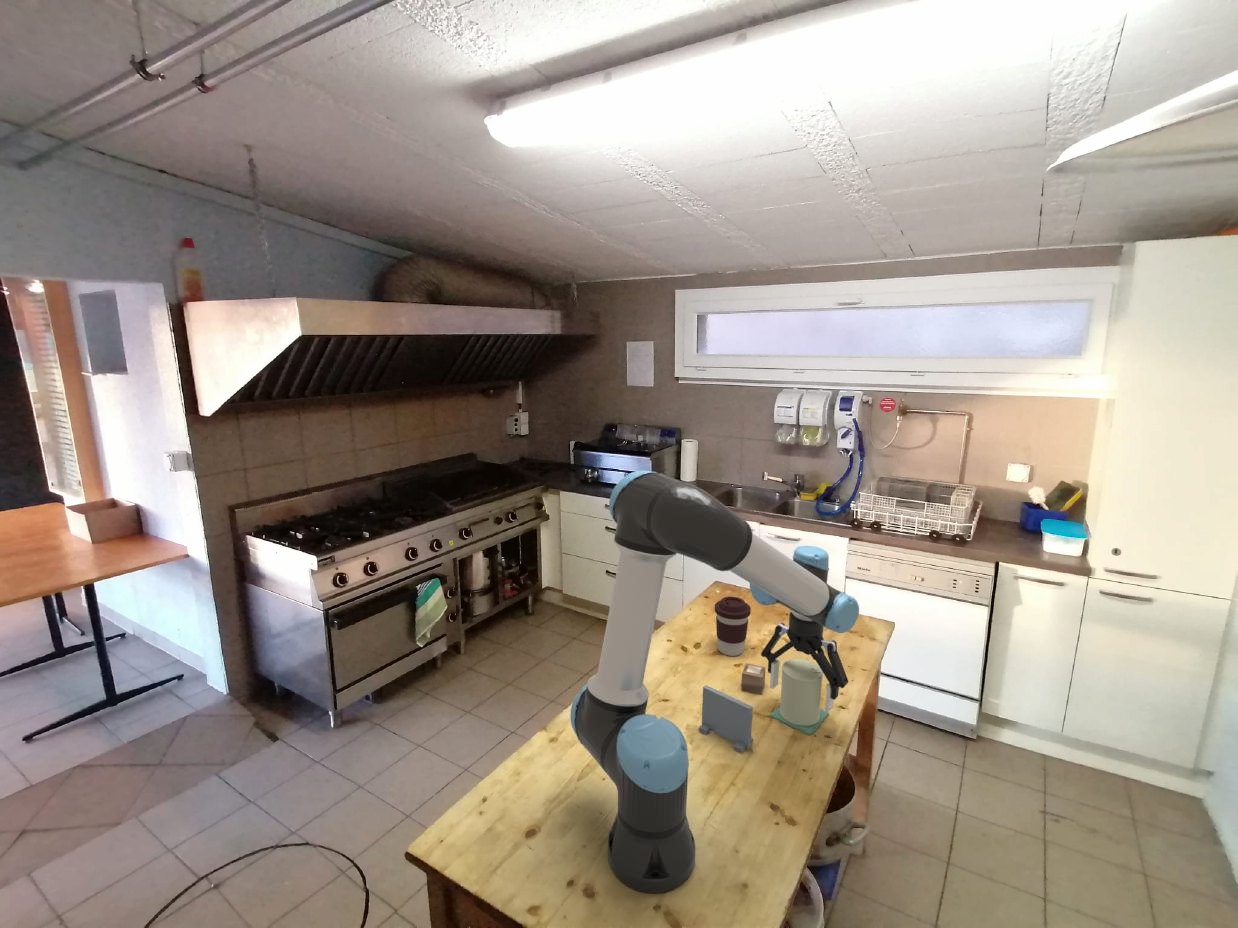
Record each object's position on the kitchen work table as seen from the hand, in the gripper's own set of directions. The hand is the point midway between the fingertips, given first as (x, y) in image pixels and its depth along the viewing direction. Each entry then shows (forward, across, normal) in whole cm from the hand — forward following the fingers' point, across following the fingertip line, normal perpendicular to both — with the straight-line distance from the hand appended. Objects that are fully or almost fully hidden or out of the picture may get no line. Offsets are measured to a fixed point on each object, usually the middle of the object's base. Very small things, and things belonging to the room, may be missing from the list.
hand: (800, 697), depth 138 cm
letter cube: (+5, +14, -3) cm, 15 cm away
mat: (+5, 0, 0) cm, 5 cm away
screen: (+5, +9, +18) cm, 21 cm away
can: (+4, 0, 0) cm, 4 cm away
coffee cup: (+5, +28, -15) cm, 32 cm away
